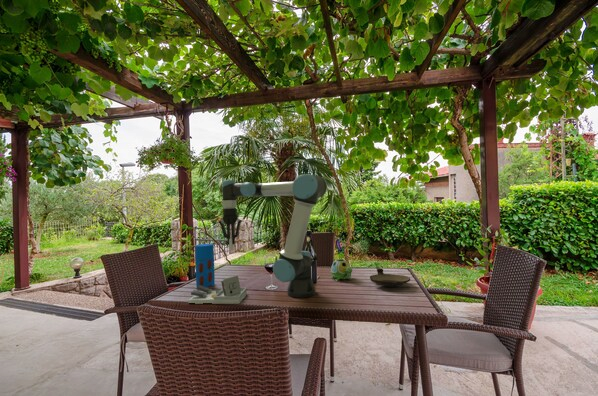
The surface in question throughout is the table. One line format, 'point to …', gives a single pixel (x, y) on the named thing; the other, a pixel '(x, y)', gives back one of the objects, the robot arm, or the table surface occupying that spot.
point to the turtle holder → (341, 269)
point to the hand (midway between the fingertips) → (231, 250)
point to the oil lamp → (388, 279)
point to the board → (219, 297)
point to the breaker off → (204, 289)
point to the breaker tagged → (199, 293)
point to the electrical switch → (231, 286)
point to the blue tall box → (204, 265)
